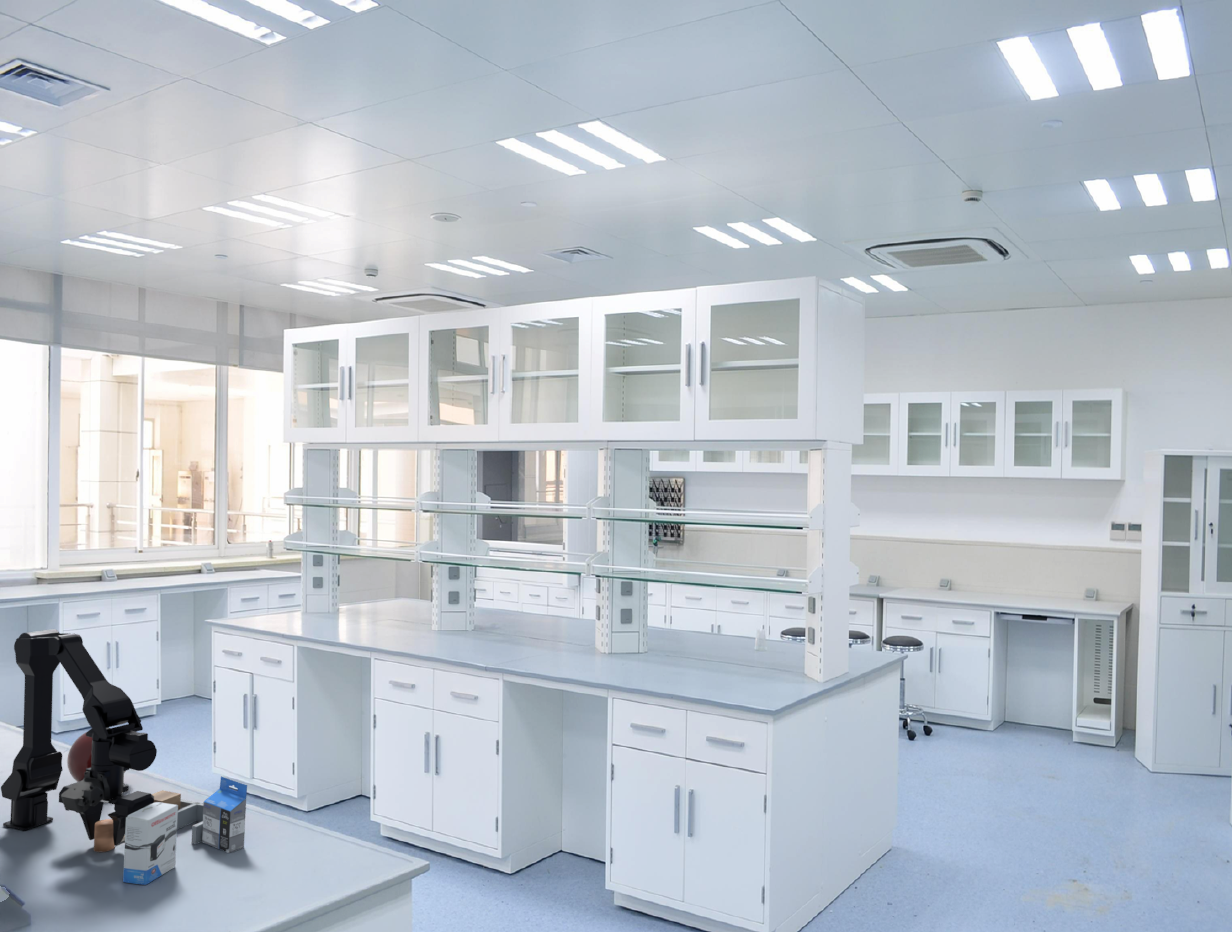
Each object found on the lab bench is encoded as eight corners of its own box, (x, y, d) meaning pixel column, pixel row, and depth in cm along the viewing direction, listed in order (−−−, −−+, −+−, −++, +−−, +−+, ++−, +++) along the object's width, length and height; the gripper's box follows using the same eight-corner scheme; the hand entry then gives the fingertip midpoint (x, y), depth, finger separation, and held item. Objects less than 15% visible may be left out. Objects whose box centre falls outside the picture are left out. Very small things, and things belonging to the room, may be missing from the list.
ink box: (145, 885, 167) (148, 819, 167) (121, 882, 168) (124, 816, 168) (177, 866, 175) (179, 803, 175) (153, 863, 176) (156, 800, 176)
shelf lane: (122, 828, 192) (123, 811, 192) (163, 812, 202) (164, 795, 202) (195, 844, 186) (196, 826, 186) (233, 826, 195) (234, 809, 195)
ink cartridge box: (200, 842, 186) (203, 780, 187) (218, 836, 190) (220, 775, 190) (228, 853, 182) (230, 790, 182) (245, 847, 185) (248, 784, 185)
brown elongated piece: (86, 849, 181) (88, 818, 181) (161, 818, 198) (162, 790, 198) (106, 853, 180) (107, 822, 180) (179, 822, 197) (180, 793, 197)
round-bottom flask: (111, 796, 210) (115, 707, 210) (53, 794, 210) (57, 704, 211) (141, 777, 223) (145, 693, 224) (87, 775, 224) (90, 691, 224)
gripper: (34, 766, 178) (31, 848, 178) (109, 780, 172) (105, 866, 171) (86, 750, 188) (82, 828, 188) (157, 763, 182) (154, 844, 182)
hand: (104, 841), depth 182 cm, fingers open, 6 cm apart
